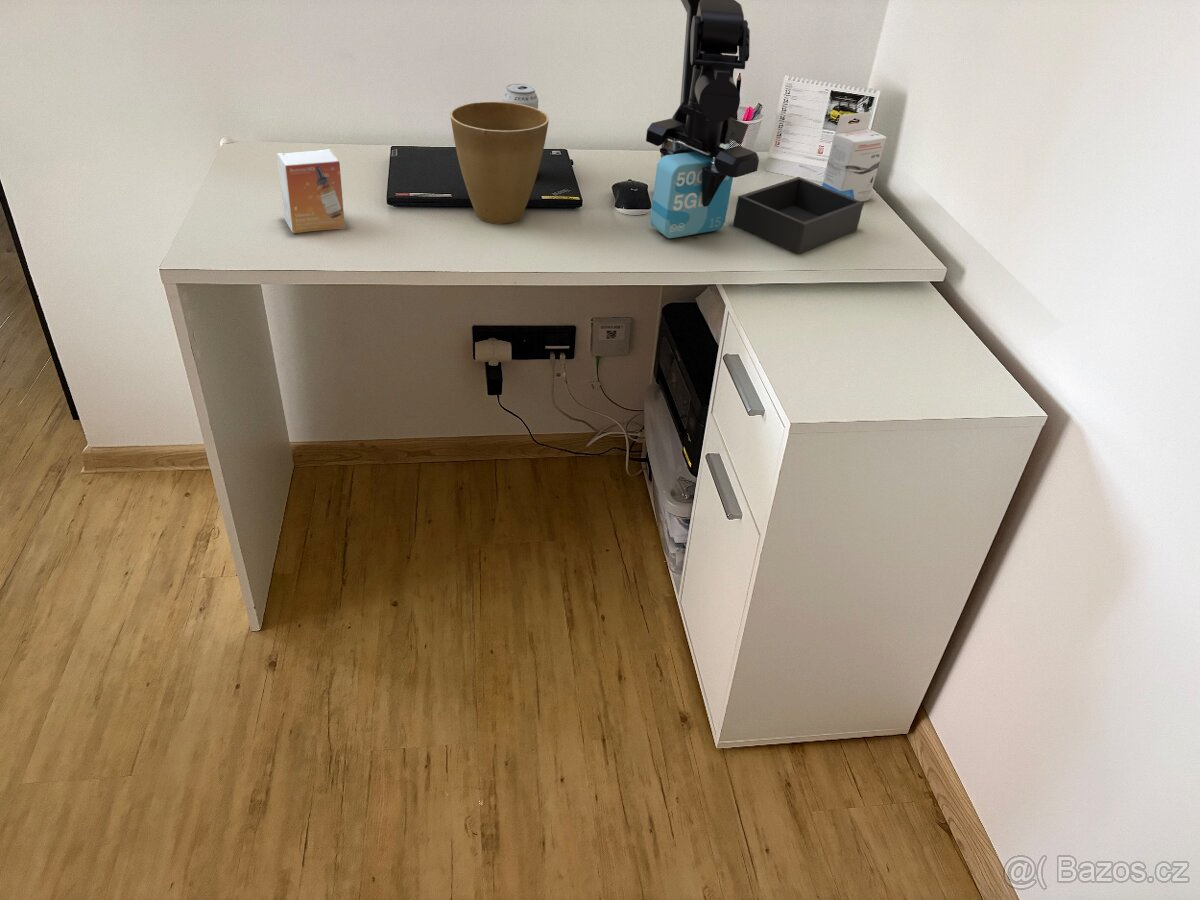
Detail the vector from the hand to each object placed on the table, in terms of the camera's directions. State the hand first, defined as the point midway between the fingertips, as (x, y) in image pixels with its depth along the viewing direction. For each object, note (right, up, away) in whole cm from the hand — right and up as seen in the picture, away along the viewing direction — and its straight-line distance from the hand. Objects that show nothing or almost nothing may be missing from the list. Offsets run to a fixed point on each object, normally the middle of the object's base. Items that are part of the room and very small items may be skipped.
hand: (693, 200), depth 146 cm
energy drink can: (-30, +9, +17) cm, 35 cm away
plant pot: (-31, -2, +2) cm, 32 cm away
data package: (-1, -4, +3) cm, 5 cm away
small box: (-59, -6, -6) cm, 59 cm away
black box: (+18, -2, +8) cm, 20 cm away
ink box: (+30, +6, +21) cm, 37 cm away
